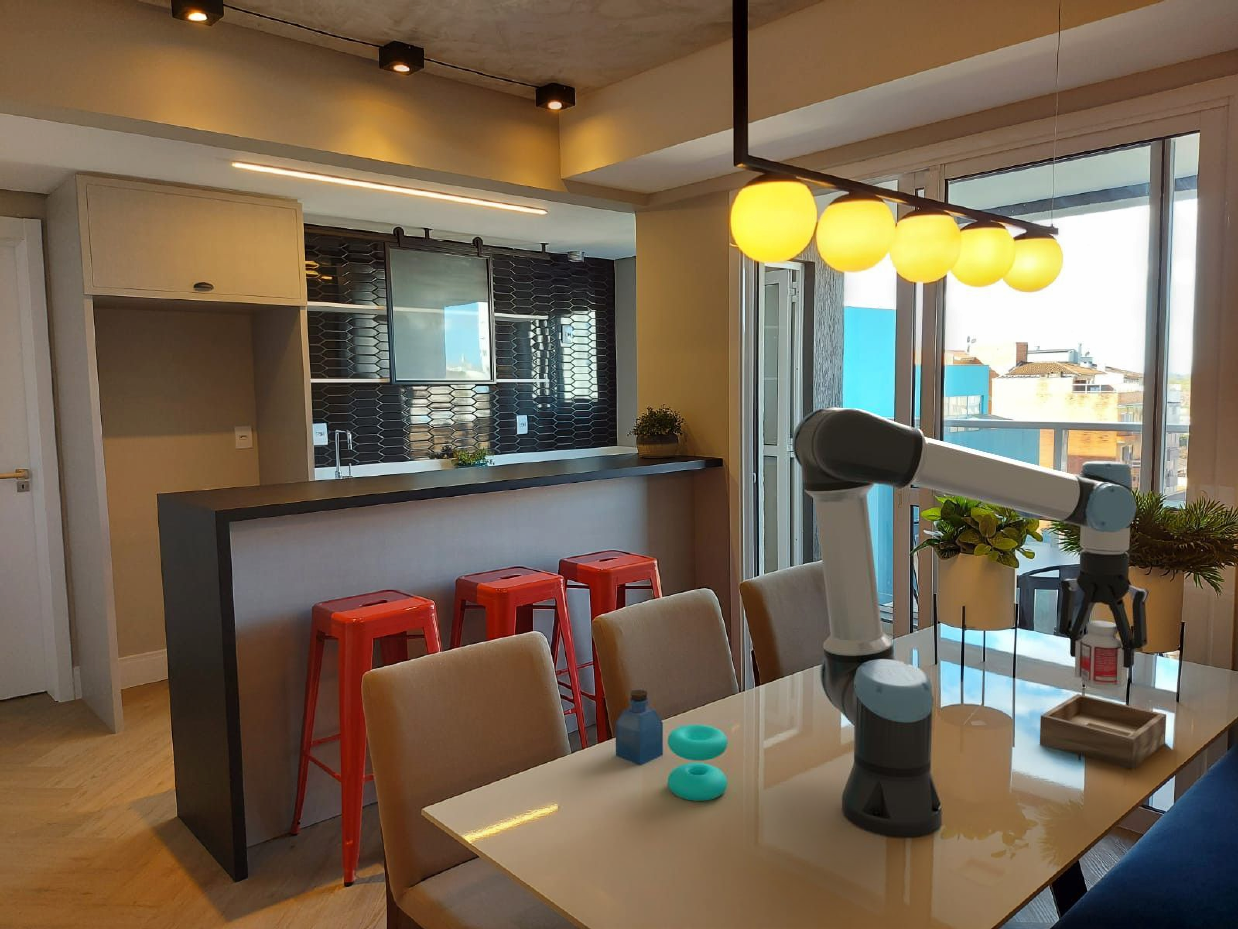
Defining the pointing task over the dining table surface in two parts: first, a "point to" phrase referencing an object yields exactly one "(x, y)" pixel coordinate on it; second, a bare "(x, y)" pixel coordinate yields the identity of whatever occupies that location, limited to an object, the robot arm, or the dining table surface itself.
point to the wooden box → (1103, 730)
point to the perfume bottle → (639, 731)
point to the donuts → (697, 777)
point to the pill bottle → (1100, 655)
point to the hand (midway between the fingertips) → (1100, 680)
